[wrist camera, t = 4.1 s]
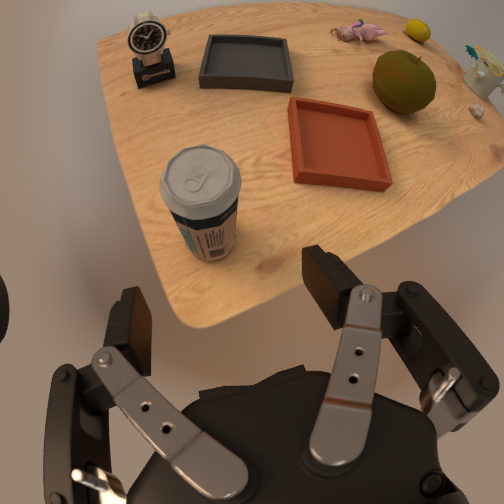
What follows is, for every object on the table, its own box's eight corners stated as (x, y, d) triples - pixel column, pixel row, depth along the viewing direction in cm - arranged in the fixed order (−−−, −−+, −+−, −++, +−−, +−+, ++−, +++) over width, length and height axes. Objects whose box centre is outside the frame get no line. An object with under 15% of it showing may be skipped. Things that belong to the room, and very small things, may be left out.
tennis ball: (398, 30, 44) (407, 13, 38) (410, 31, 46) (418, 16, 39) (417, 45, 43) (427, 28, 37) (427, 46, 45) (437, 31, 38)
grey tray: (199, 88, 31) (198, 76, 28) (209, 45, 34) (209, 34, 32) (290, 93, 32) (293, 81, 30) (284, 49, 35) (286, 38, 33)
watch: (139, 96, 30) (121, 34, 19) (135, 67, 31) (121, 13, 21) (178, 84, 31) (170, 20, 20) (170, 57, 32) (162, 1, 22)
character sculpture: (441, 58, 44) (462, 29, 31) (460, 65, 46) (479, 39, 33) (486, 114, 40) (514, 86, 27) (499, 116, 42) (525, 92, 29)
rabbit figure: (342, 51, 38) (392, 44, 39) (347, 28, 33) (399, 25, 33) (323, 35, 40) (373, 29, 40) (326, 13, 34) (379, 11, 34)
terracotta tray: (293, 182, 28) (299, 171, 26) (287, 108, 31) (290, 96, 29) (383, 192, 29) (392, 183, 27) (365, 121, 32) (372, 111, 30)
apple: (423, 115, 34) (456, 75, 24) (400, 133, 32) (438, 85, 22) (381, 76, 36) (406, 33, 25) (351, 88, 34) (377, 36, 23)
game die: (471, 117, 38) (479, 109, 35) (466, 105, 39) (473, 98, 36) (480, 123, 38) (488, 116, 35) (475, 111, 39) (482, 104, 36)
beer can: (243, 225, 26) (255, 155, 15) (222, 270, 25) (218, 226, 14) (199, 206, 26) (182, 129, 15) (177, 249, 25) (140, 193, 14)
